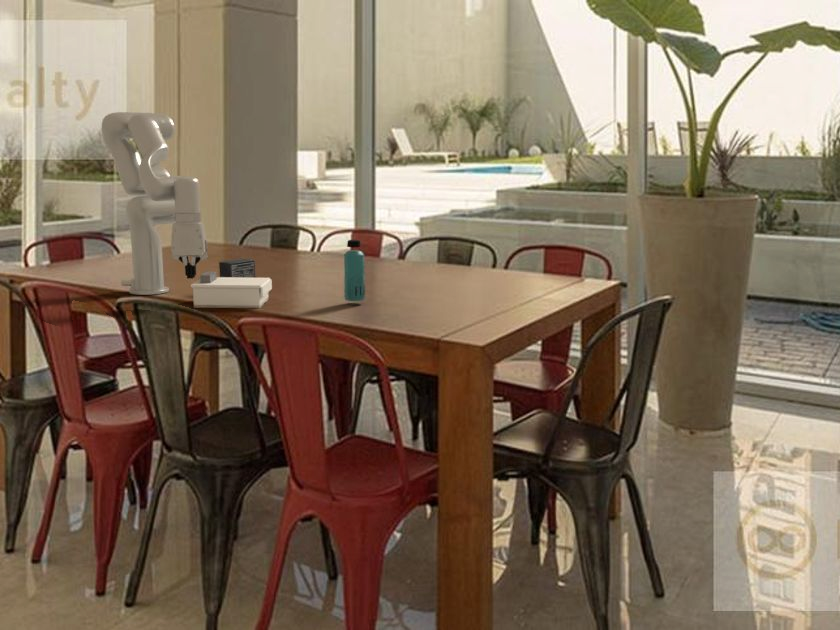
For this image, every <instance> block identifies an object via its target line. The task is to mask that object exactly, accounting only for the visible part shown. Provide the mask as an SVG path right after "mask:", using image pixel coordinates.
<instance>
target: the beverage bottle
mask: <svg viewBox="0 0 840 630" xmlns="http://www.w3.org/2000/svg"><path fill="white" fill-rule="evenodd" d="M346 243H347V244H346V247H347V248H360V247H361V246H362V245H361V240H360V239H348V240H347V242H346ZM343 257H344V259H343V260H344V261H343V262H344V263H343V264H344V267H343V270H344V279H343V281H344V290H343V291H344V292H343V293H344V294H343V295H344V300H345V301H349V302H360V301H364V300H365V298H366V284H365V282H366V281H365V273H366V272H365V268H366V265H365V254H364V252H363V251H361V250H357V249H354V250H353V249H351V250H347V251H345V252H344V254H343Z"/></svg>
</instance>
